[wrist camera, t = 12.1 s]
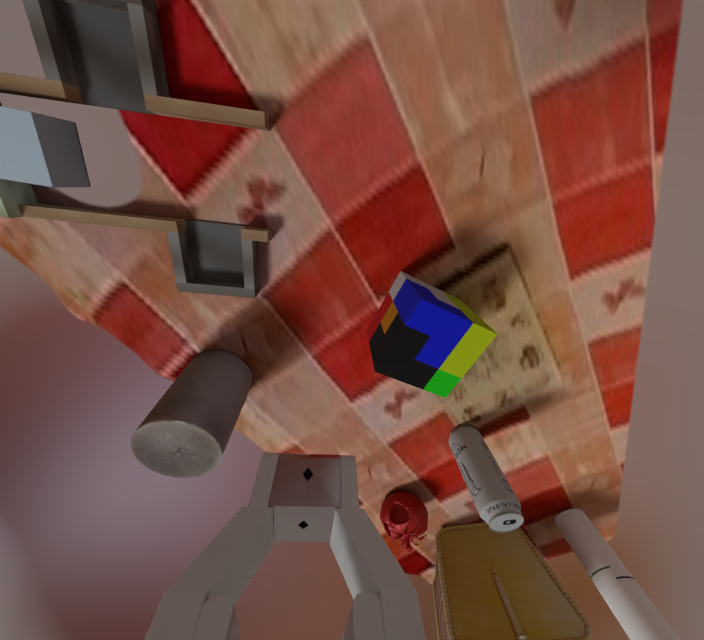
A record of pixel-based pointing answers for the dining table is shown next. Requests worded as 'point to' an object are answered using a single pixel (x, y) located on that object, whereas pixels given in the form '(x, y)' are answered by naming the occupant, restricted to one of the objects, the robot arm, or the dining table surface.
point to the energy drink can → (485, 480)
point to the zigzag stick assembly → (139, 96)
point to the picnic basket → (500, 589)
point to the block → (40, 150)
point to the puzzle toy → (425, 336)
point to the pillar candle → (194, 416)
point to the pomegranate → (404, 517)
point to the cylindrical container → (613, 579)
